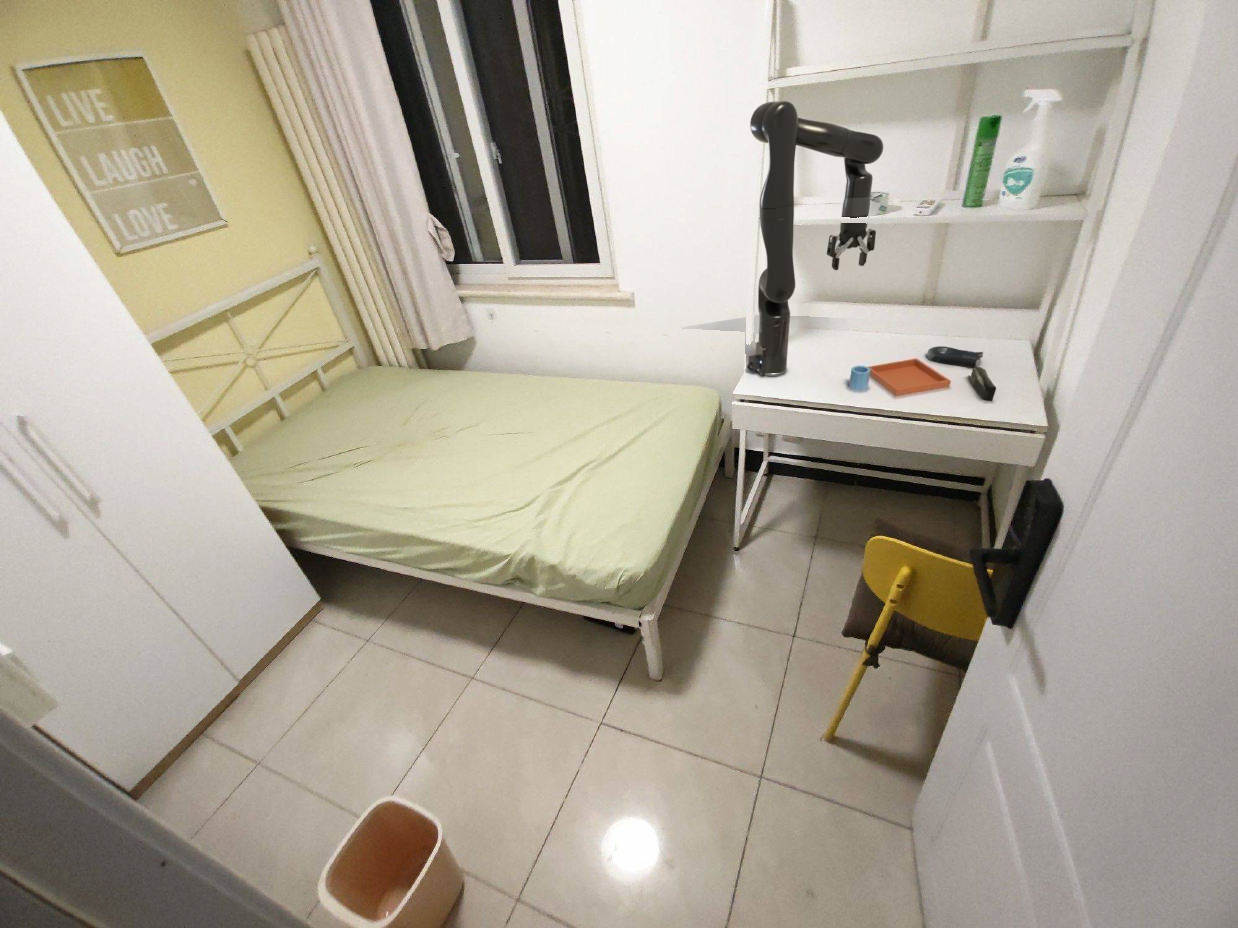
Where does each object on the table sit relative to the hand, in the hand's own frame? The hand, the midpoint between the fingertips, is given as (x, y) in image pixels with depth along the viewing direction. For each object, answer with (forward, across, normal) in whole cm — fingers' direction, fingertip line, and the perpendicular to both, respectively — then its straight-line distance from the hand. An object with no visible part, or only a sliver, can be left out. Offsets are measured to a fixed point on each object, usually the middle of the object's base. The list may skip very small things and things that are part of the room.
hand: (848, 267), depth 175 cm
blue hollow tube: (+28, +7, +26) cm, 39 cm away
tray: (+28, -8, +27) cm, 40 cm away
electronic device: (+28, -28, +20) cm, 45 cm away
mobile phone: (+28, -23, +39) cm, 53 cm away
